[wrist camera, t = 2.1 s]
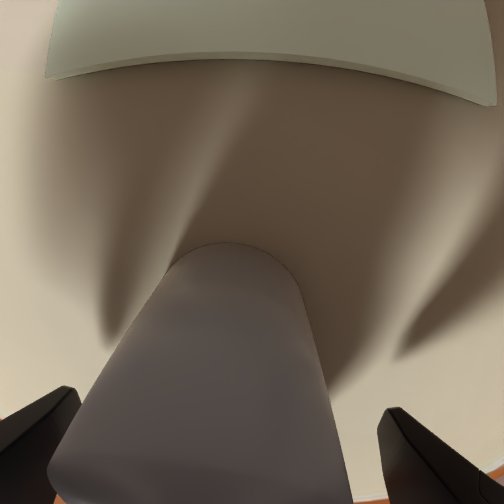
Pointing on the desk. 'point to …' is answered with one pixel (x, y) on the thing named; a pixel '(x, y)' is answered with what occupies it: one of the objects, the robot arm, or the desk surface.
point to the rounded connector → (209, 397)
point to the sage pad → (285, 37)
